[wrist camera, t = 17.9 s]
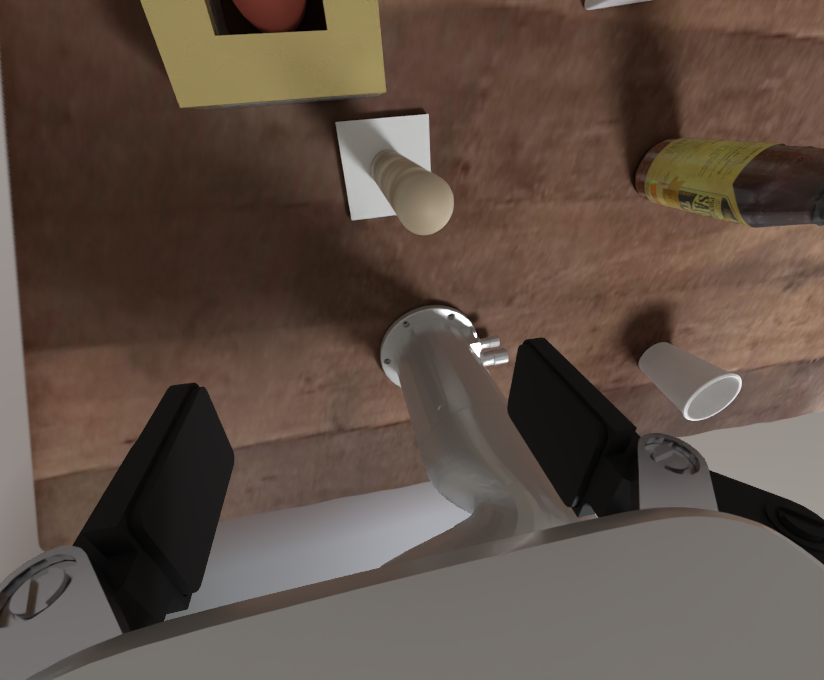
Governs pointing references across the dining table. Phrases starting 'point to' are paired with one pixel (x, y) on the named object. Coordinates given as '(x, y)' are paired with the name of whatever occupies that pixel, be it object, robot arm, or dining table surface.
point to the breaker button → (273, 14)
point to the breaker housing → (267, 56)
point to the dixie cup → (689, 380)
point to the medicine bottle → (608, 3)
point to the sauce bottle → (736, 180)
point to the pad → (362, 146)
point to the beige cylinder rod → (413, 192)
